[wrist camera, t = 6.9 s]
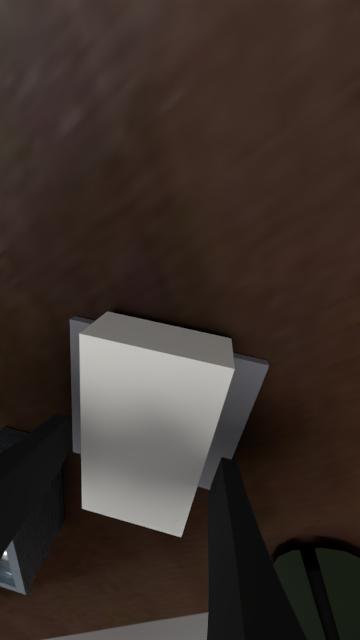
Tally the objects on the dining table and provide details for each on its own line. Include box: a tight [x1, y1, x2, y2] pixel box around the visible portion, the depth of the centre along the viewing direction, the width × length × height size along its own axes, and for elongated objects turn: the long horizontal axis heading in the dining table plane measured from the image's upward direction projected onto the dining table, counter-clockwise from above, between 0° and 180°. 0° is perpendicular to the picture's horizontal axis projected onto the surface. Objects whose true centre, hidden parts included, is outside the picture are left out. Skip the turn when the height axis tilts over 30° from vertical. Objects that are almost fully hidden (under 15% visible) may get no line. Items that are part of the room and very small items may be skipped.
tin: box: [0, 427, 65, 595], centre depth 15 cm, size 9×4×4 cm, turn 170°
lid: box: [79, 311, 235, 537], centre depth 11 cm, size 11×5×2 cm, turn 171°
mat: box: [70, 316, 269, 490], centre depth 12 cm, size 9×9×1 cm
